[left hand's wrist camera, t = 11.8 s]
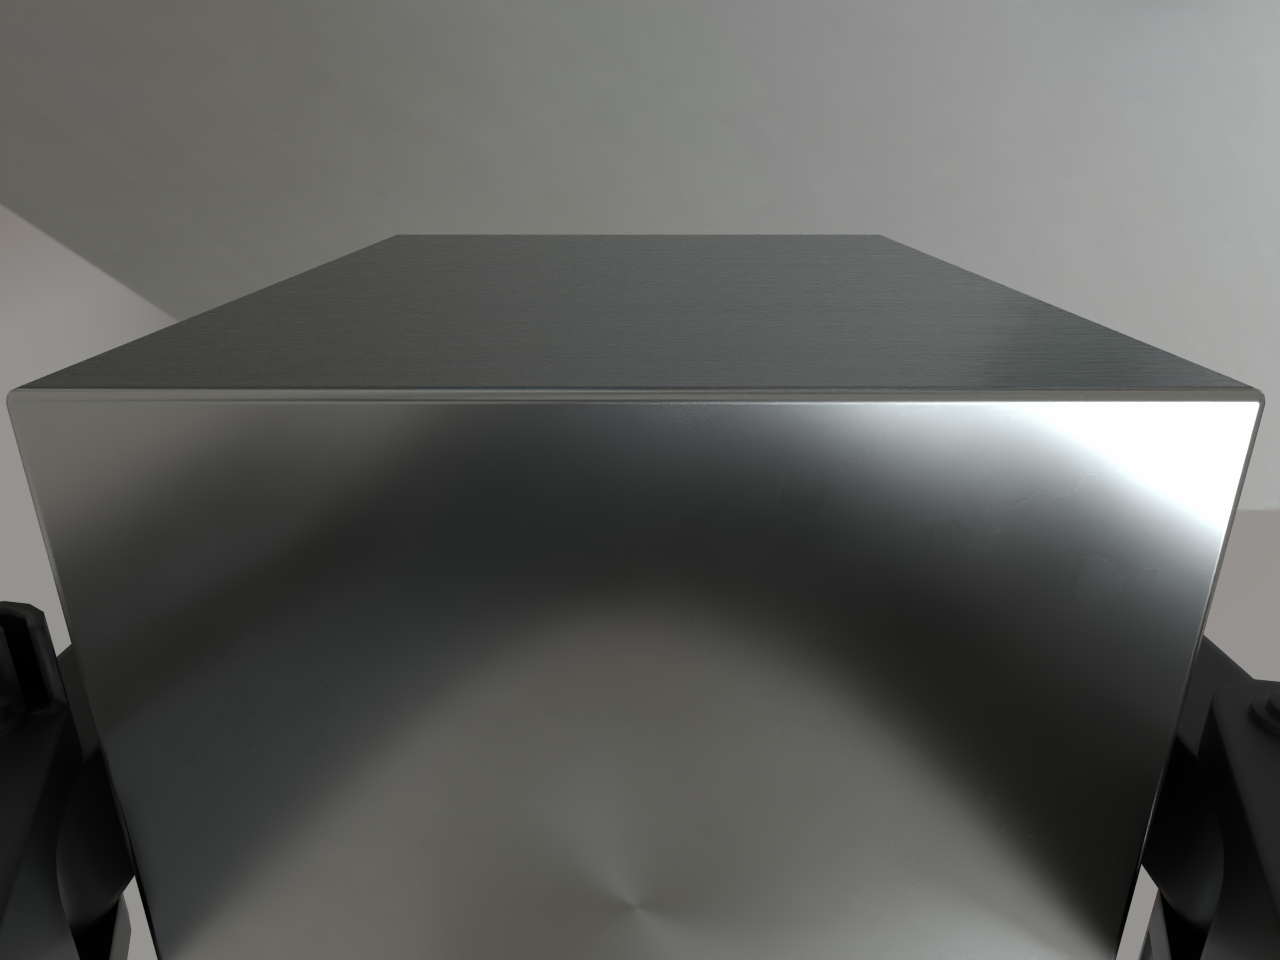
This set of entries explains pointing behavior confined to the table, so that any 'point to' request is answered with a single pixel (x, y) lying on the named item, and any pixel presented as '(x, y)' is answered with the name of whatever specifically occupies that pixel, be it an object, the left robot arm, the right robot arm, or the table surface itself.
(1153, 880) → the left robot arm
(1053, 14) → the table surface
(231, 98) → the table surface
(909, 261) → the block
